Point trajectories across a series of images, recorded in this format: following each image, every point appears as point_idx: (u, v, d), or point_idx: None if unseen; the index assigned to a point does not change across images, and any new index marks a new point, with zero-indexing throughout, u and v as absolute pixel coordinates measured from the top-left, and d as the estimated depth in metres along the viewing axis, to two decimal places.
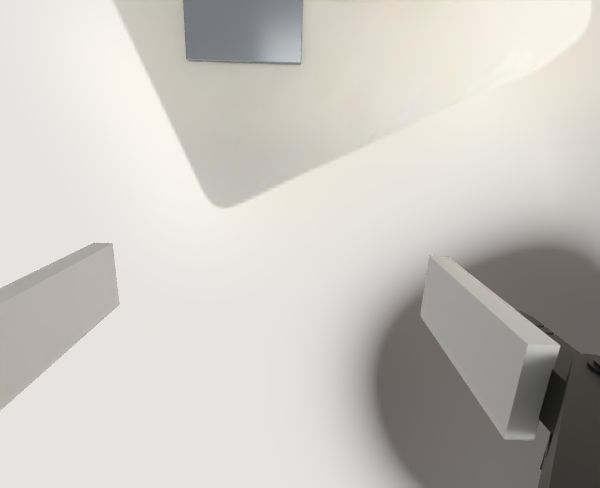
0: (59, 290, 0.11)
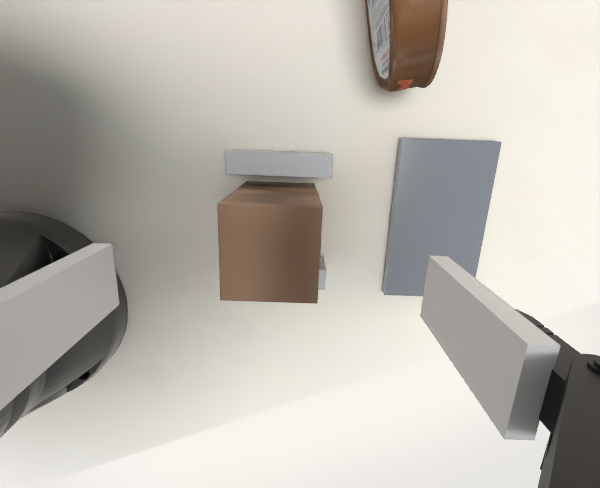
0: (58, 291, 0.11)
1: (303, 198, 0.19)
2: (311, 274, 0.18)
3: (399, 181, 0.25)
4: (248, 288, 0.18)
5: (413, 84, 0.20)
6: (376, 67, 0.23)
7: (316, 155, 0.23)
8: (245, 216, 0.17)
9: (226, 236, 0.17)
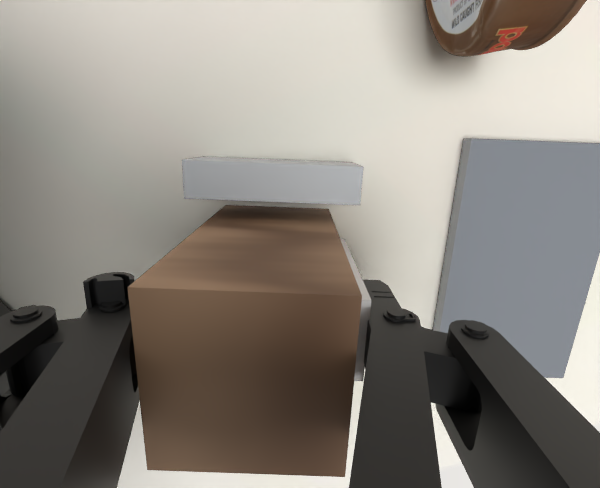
0: None
1: (315, 255, 0.10)
2: (334, 425, 0.08)
3: (463, 207, 0.16)
4: (202, 448, 0.09)
5: (521, 38, 0.11)
6: (436, 20, 0.14)
7: (335, 168, 0.14)
8: (191, 313, 0.08)
9: (151, 352, 0.08)
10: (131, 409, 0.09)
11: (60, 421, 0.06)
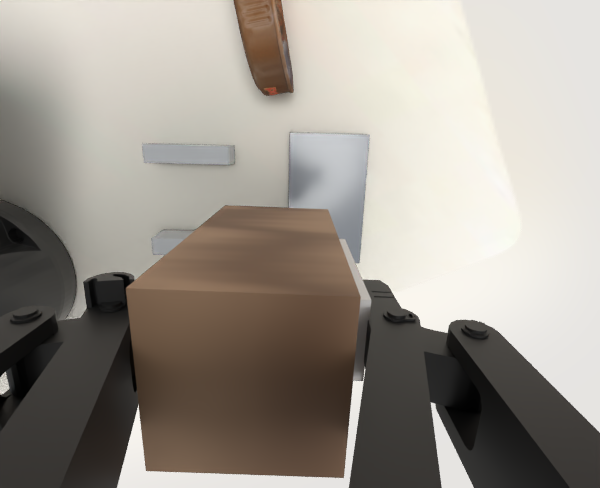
0: None
1: (314, 256, 0.10)
2: (333, 425, 0.08)
3: (290, 168, 0.32)
4: (201, 449, 0.09)
5: (279, 90, 0.26)
6: None
7: (215, 146, 0.29)
8: (189, 314, 0.08)
9: (150, 353, 0.08)
10: (131, 409, 0.09)
11: (60, 421, 0.06)
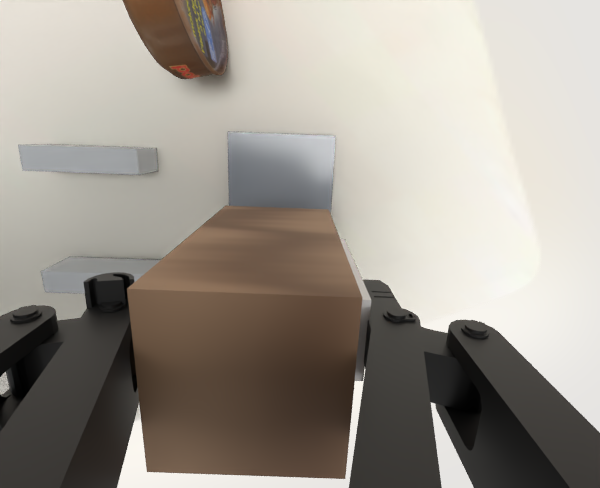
0: None
1: (316, 256, 0.10)
2: (335, 427, 0.08)
3: (230, 179, 0.24)
4: (202, 450, 0.09)
5: (194, 70, 0.18)
6: None
7: (118, 150, 0.21)
8: (191, 315, 0.08)
9: (151, 354, 0.08)
10: (131, 409, 0.09)
11: (60, 421, 0.06)
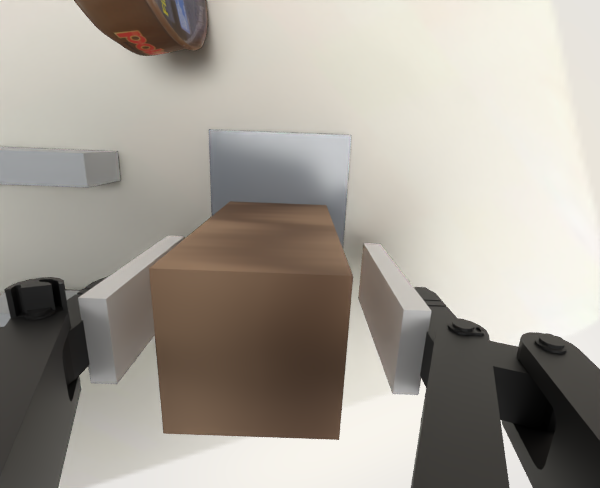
0: None
1: (313, 244, 0.11)
2: (329, 392, 0.10)
3: (213, 191, 0.18)
4: (212, 414, 0.10)
5: (153, 41, 0.13)
6: None
7: (58, 154, 0.15)
8: (204, 292, 0.09)
9: (168, 326, 0.09)
10: (68, 418, 0.08)
11: None
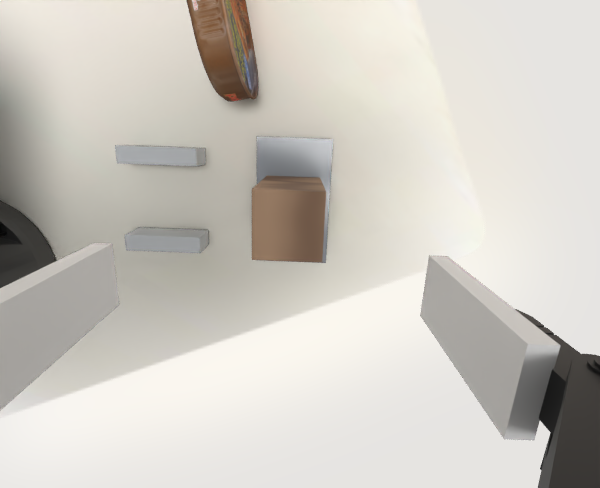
0: (59, 291, 0.11)
1: (312, 186, 0.26)
2: (318, 240, 0.24)
3: (258, 170, 0.33)
4: (272, 250, 0.25)
5: (239, 96, 0.28)
6: None
7: (183, 149, 0.30)
8: (271, 198, 0.24)
9: (257, 212, 0.24)
10: None
11: None
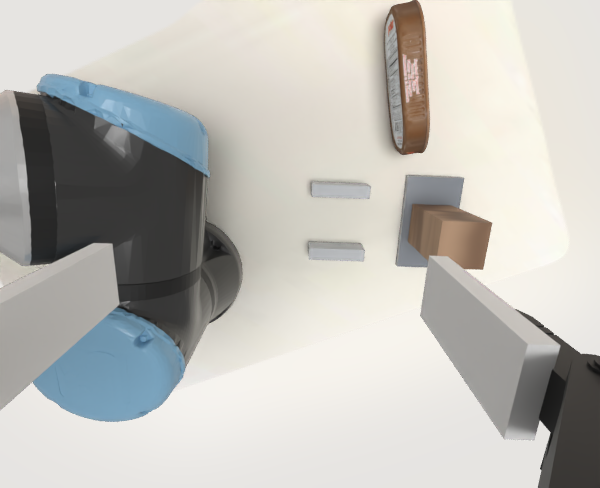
0: (59, 291, 0.11)
1: (471, 217, 0.38)
2: (482, 254, 0.36)
3: (406, 200, 0.45)
4: None
5: (414, 152, 0.39)
6: (394, 139, 0.42)
7: (361, 186, 0.42)
8: (454, 227, 0.35)
9: (443, 236, 0.36)
10: None
11: None
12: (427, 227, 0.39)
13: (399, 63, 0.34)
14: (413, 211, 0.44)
